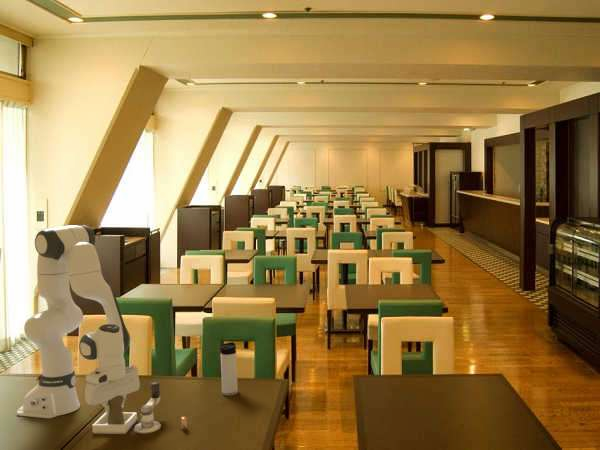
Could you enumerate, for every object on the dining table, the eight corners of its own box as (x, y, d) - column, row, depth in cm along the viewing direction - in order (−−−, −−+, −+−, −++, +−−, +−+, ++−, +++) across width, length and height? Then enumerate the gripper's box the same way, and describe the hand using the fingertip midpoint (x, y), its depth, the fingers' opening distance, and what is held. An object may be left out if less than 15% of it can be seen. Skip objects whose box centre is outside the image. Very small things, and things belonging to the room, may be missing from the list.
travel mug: (241, 391, 256) (239, 342, 254) (232, 396, 250) (230, 347, 248) (227, 389, 259) (225, 341, 257) (219, 394, 253) (216, 345, 251)
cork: (119, 429, 220) (118, 398, 219) (103, 428, 221) (102, 397, 220) (128, 422, 226) (126, 392, 225) (112, 421, 227) (111, 391, 226)
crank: (150, 414, 219) (149, 395, 219) (139, 414, 220) (138, 395, 219) (162, 400, 233) (161, 382, 232) (151, 400, 233) (151, 382, 232)
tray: (92, 433, 219) (92, 425, 219) (106, 420, 230) (105, 412, 230) (125, 433, 218) (124, 425, 217) (137, 420, 229) (136, 412, 229)
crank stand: (130, 433, 218) (129, 418, 217) (139, 423, 227) (138, 408, 226) (183, 434, 216) (182, 418, 216) (190, 423, 225) (189, 408, 224)
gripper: (131, 362, 232) (133, 399, 233) (81, 377, 216) (83, 417, 218) (142, 365, 228) (144, 402, 229) (91, 381, 212) (94, 421, 214)
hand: (114, 409), depth 223 cm, fingers closed on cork, 4 cm apart
